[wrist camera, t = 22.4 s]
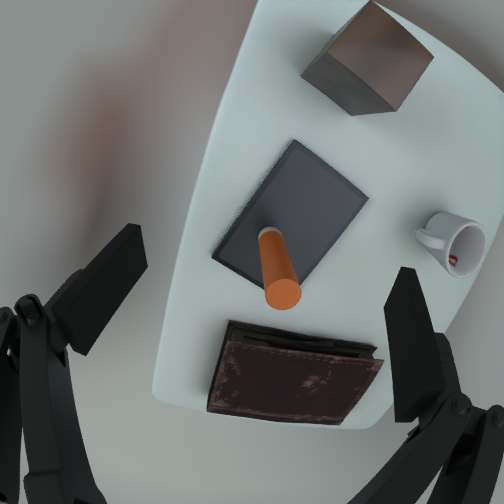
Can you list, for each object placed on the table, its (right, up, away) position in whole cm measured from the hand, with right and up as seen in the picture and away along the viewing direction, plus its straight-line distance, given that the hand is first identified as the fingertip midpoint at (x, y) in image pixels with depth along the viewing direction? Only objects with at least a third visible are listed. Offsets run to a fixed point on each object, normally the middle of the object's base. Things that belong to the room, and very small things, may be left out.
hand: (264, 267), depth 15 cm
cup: (+26, +4, +25) cm, 36 cm away
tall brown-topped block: (+11, +23, +16) cm, 30 cm away
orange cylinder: (+2, +2, +23) cm, 23 cm away
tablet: (+4, +4, +24) cm, 25 cm away
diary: (+6, -19, +34) cm, 39 cm away
